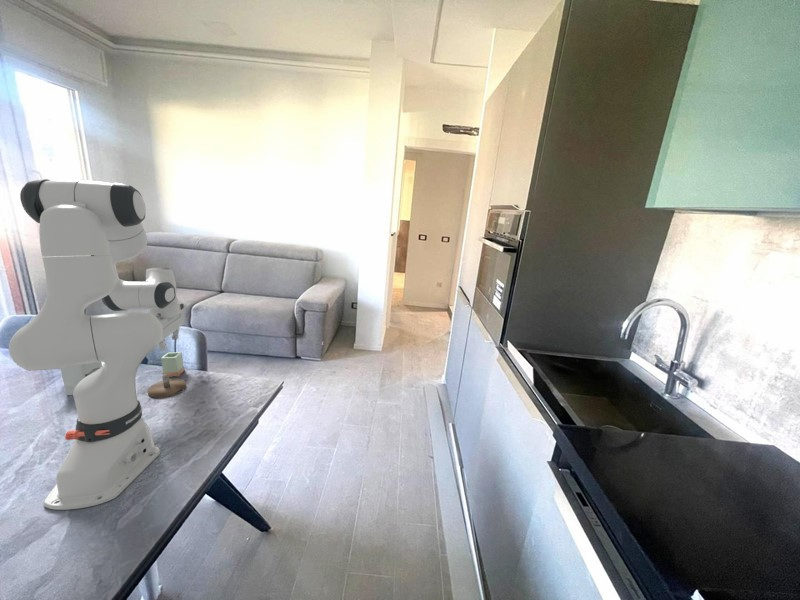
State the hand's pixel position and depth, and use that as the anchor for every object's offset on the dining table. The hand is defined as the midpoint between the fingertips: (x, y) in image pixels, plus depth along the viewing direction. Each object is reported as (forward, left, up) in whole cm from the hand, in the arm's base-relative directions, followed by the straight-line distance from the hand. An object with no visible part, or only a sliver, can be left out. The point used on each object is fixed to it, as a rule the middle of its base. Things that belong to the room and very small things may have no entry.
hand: (169, 344), depth 122 cm
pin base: (-12, -3, -13) cm, 18 cm away
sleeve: (0, 0, -13) cm, 13 cm away
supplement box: (-10, +23, -13) cm, 28 cm away
